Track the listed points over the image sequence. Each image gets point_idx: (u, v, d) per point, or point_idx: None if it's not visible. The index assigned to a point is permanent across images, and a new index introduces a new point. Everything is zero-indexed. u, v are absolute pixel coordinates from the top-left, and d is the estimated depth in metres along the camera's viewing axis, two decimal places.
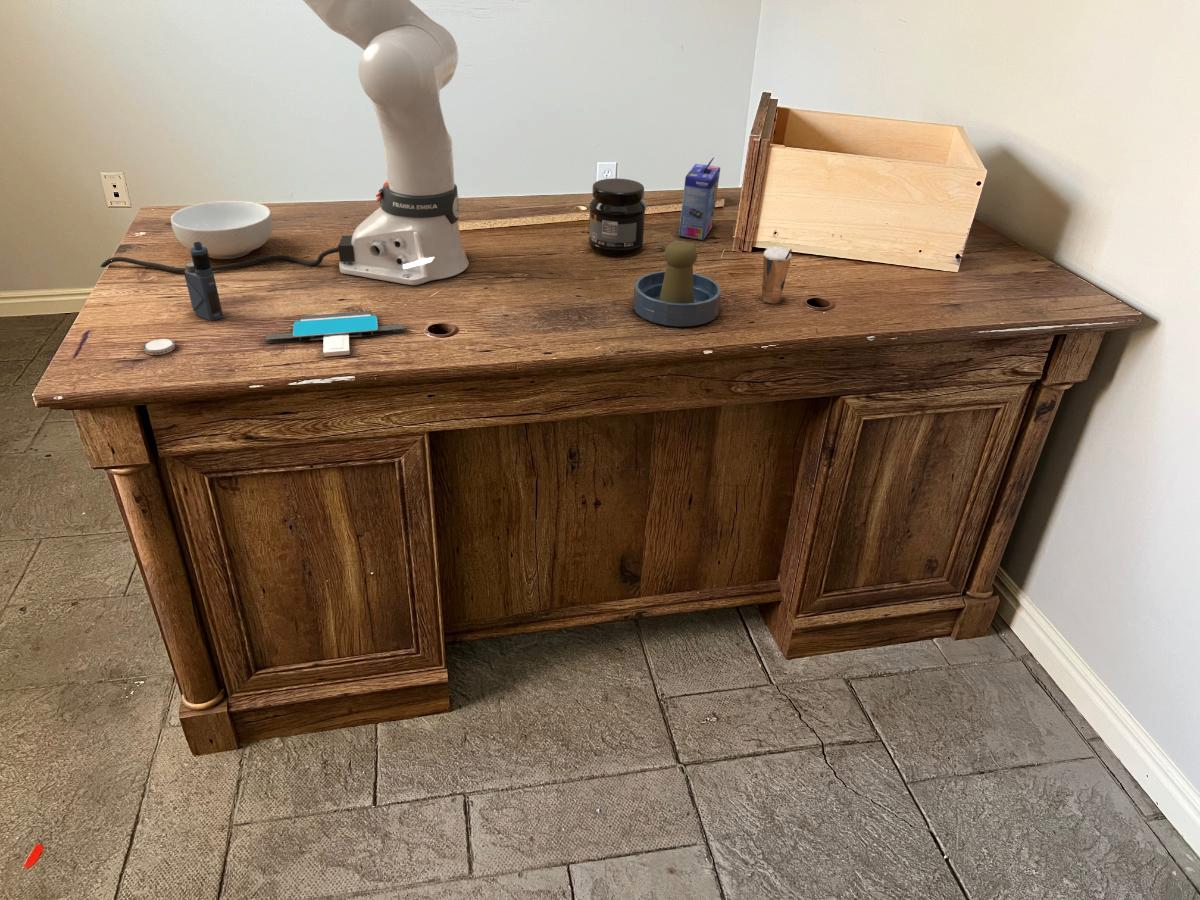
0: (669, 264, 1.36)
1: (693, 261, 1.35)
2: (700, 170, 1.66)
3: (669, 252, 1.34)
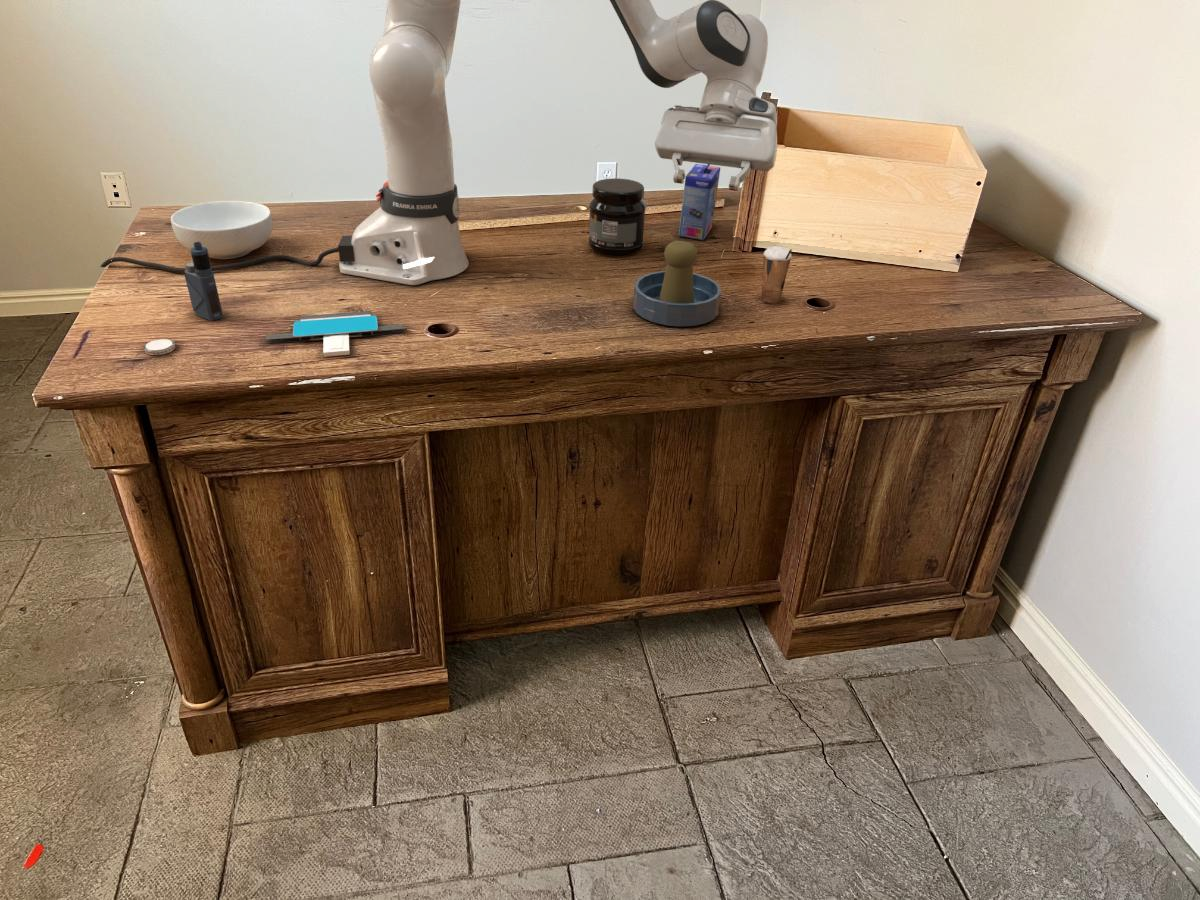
0: (669, 264, 1.36)
1: (693, 261, 1.35)
2: (700, 170, 1.66)
3: (669, 252, 1.34)
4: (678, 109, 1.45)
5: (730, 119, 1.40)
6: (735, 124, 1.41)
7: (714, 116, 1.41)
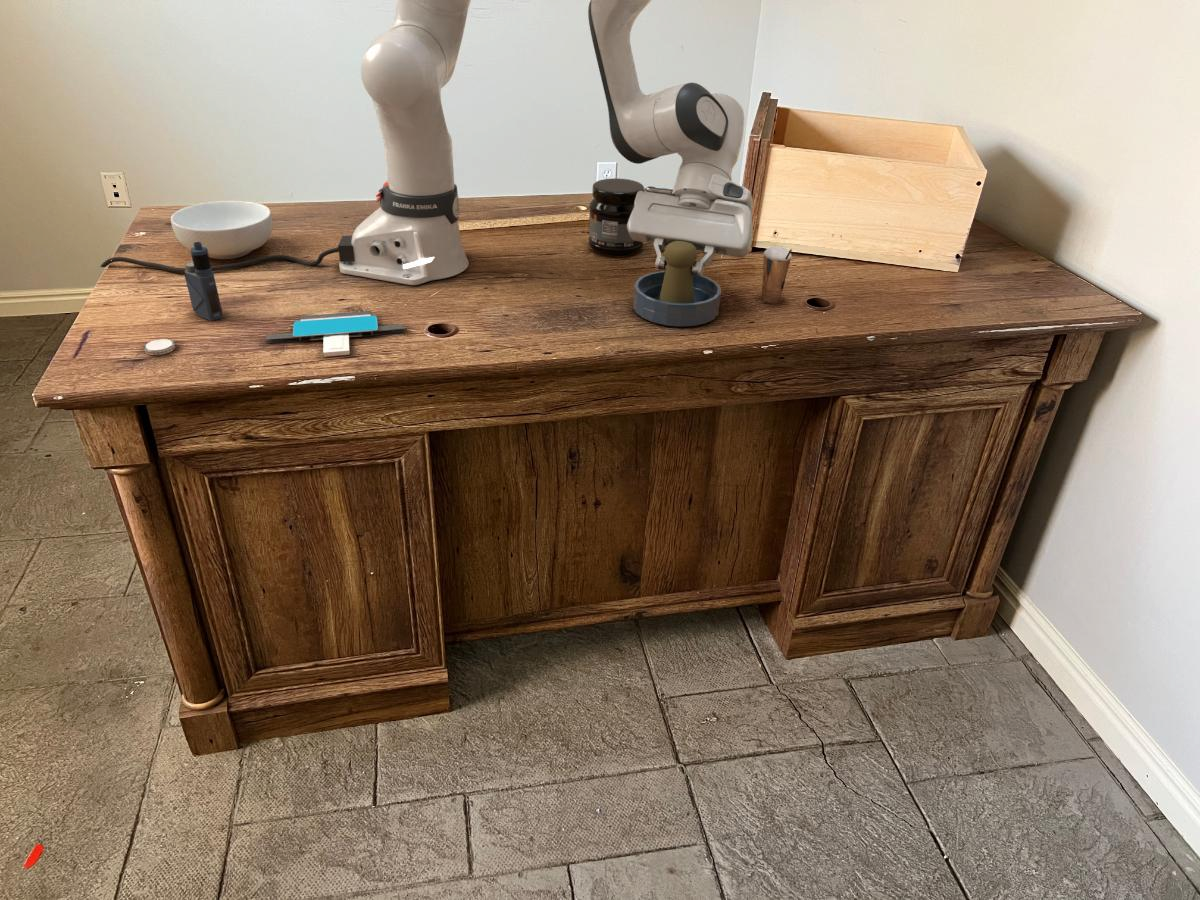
0: (669, 264, 1.36)
1: (693, 261, 1.35)
2: None
3: (669, 252, 1.34)
4: (651, 190, 1.41)
5: (704, 204, 1.36)
6: (709, 209, 1.36)
7: (687, 200, 1.36)
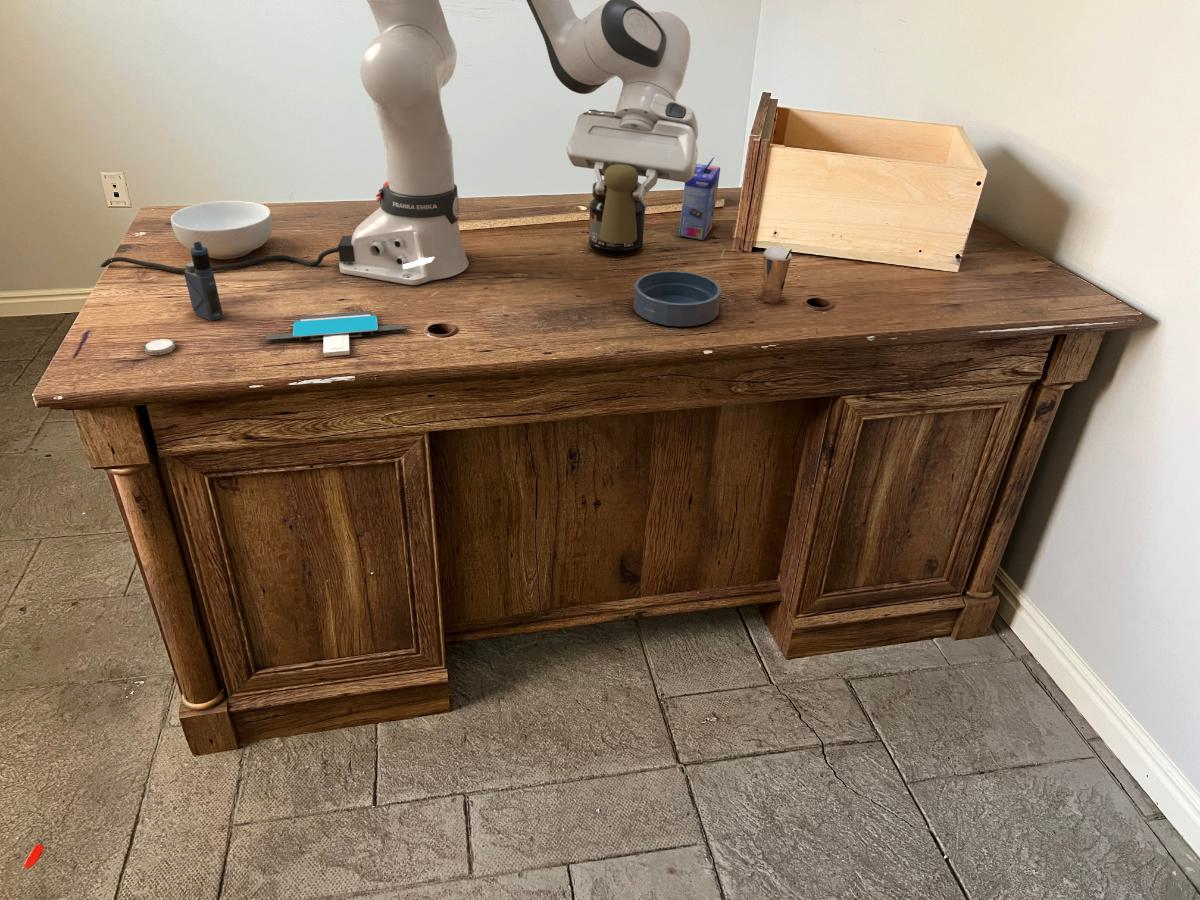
0: (609, 188, 1.29)
1: (634, 184, 1.29)
2: (700, 170, 1.66)
3: (608, 175, 1.28)
4: (593, 113, 1.35)
5: (646, 126, 1.30)
6: (651, 131, 1.30)
7: (629, 122, 1.30)
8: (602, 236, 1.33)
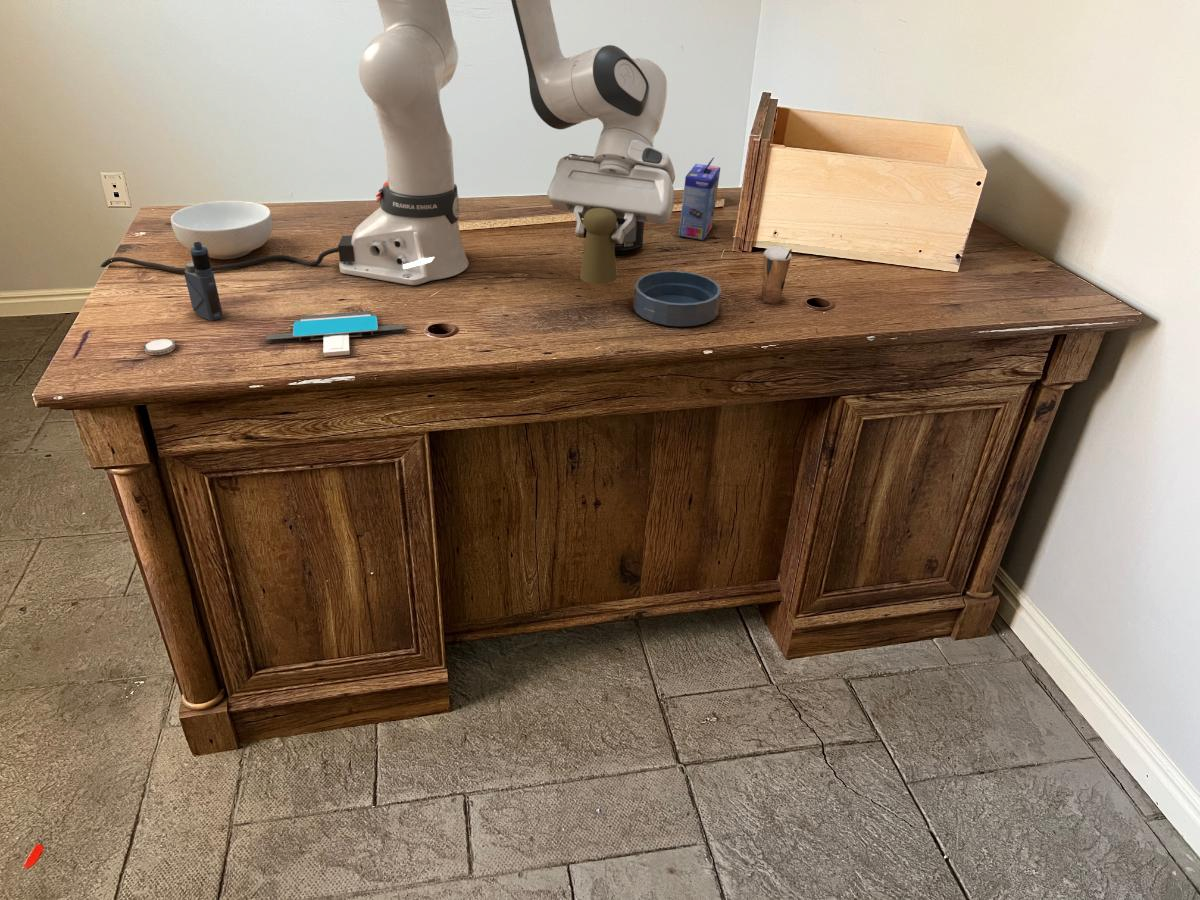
0: (588, 231, 1.33)
1: (612, 228, 1.33)
2: (700, 170, 1.66)
3: (587, 219, 1.32)
4: (573, 158, 1.39)
5: (624, 170, 1.34)
6: (629, 175, 1.34)
7: (607, 167, 1.34)
8: (583, 277, 1.37)
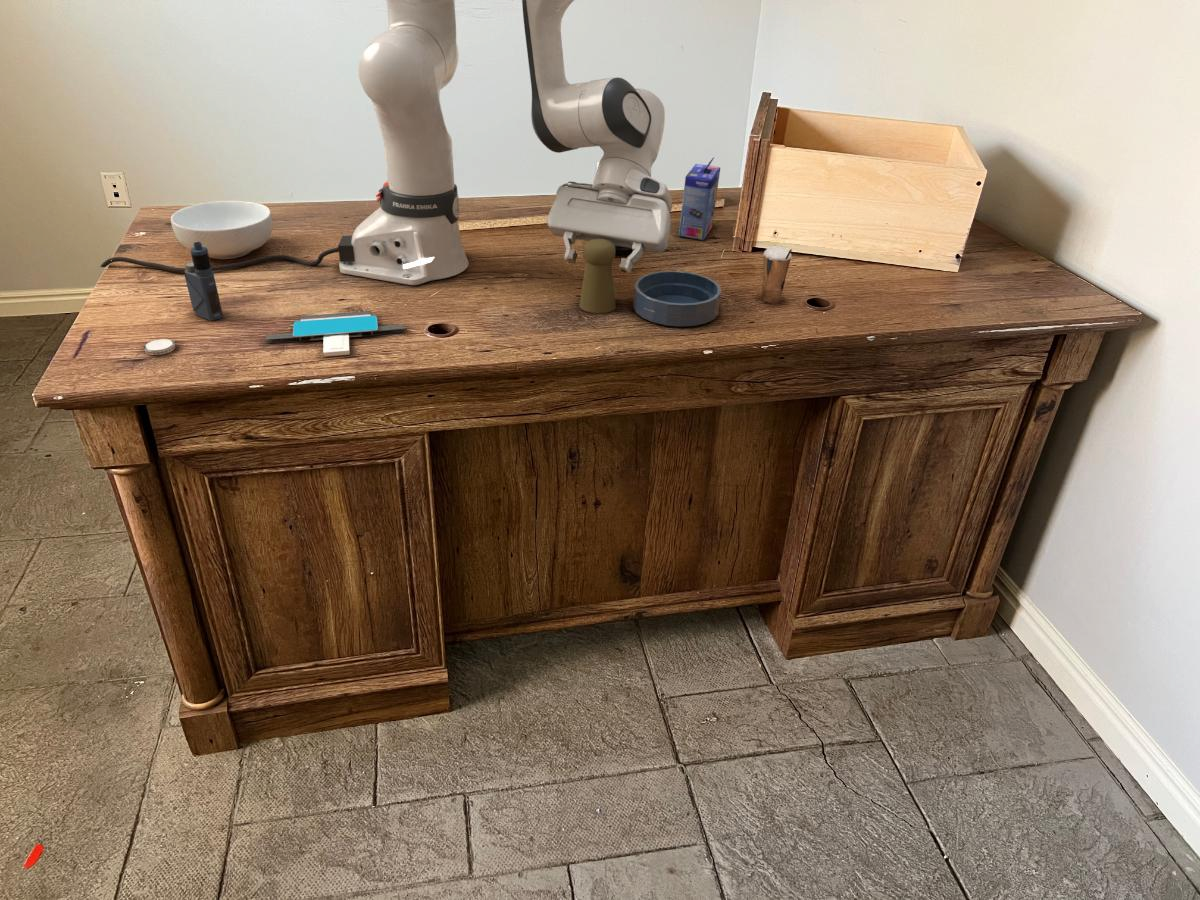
0: (587, 262, 1.36)
1: (611, 259, 1.35)
2: (700, 170, 1.66)
3: (587, 250, 1.35)
4: (572, 185, 1.41)
5: (622, 199, 1.36)
6: (627, 204, 1.36)
7: (605, 195, 1.36)
8: (582, 306, 1.40)
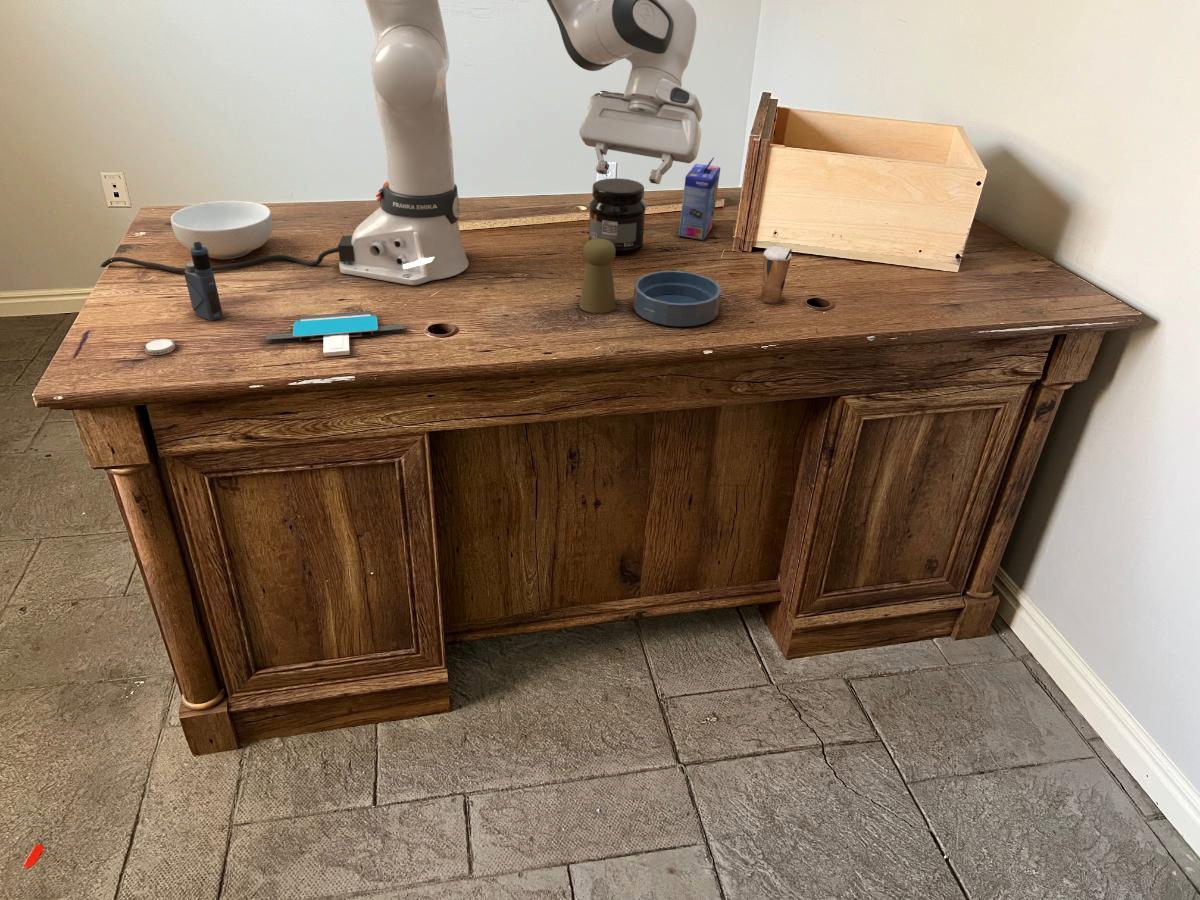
0: (587, 262, 1.36)
1: (611, 259, 1.35)
2: (700, 170, 1.66)
3: (587, 250, 1.35)
4: (604, 95, 1.44)
5: (652, 110, 1.39)
6: (657, 114, 1.39)
7: (636, 106, 1.39)
8: (582, 306, 1.40)
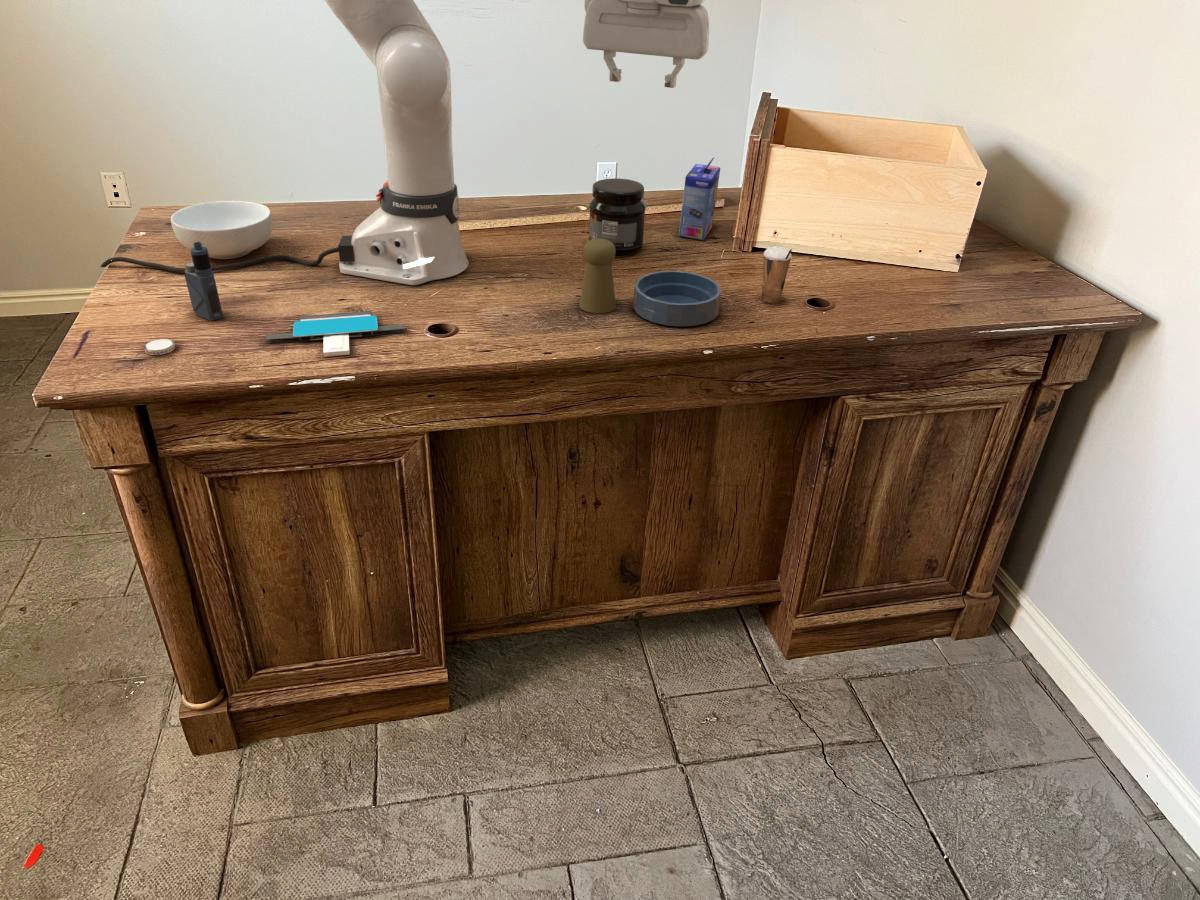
0: (587, 262, 1.36)
1: (611, 259, 1.35)
2: (700, 170, 1.66)
3: (587, 250, 1.35)
4: None
5: (653, 13, 1.31)
6: (659, 15, 1.32)
7: (635, 12, 1.32)
8: (582, 306, 1.40)
